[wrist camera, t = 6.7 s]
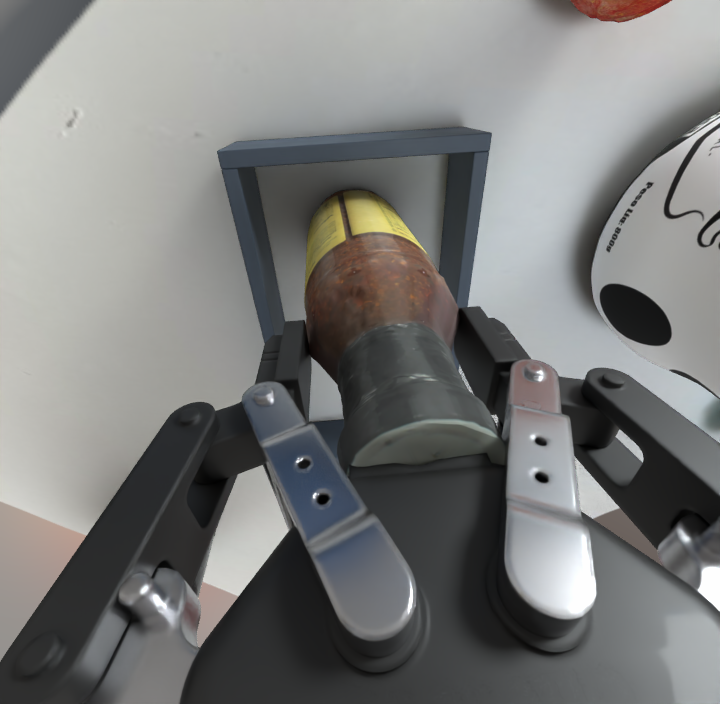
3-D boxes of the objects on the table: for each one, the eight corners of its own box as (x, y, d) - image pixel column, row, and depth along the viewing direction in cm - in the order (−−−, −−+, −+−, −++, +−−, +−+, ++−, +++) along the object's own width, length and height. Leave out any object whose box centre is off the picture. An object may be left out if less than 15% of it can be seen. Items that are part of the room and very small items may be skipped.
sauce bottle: (326, 285, 27) (320, 573, 11) (294, 201, 23) (213, 440, 7) (411, 260, 26) (545, 526, 10) (392, 168, 23) (550, 352, 6)
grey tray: (300, 439, 36) (297, 477, 33) (235, 141, 21) (216, 150, 17) (433, 427, 37) (445, 463, 33) (464, 126, 22) (492, 132, 18)
